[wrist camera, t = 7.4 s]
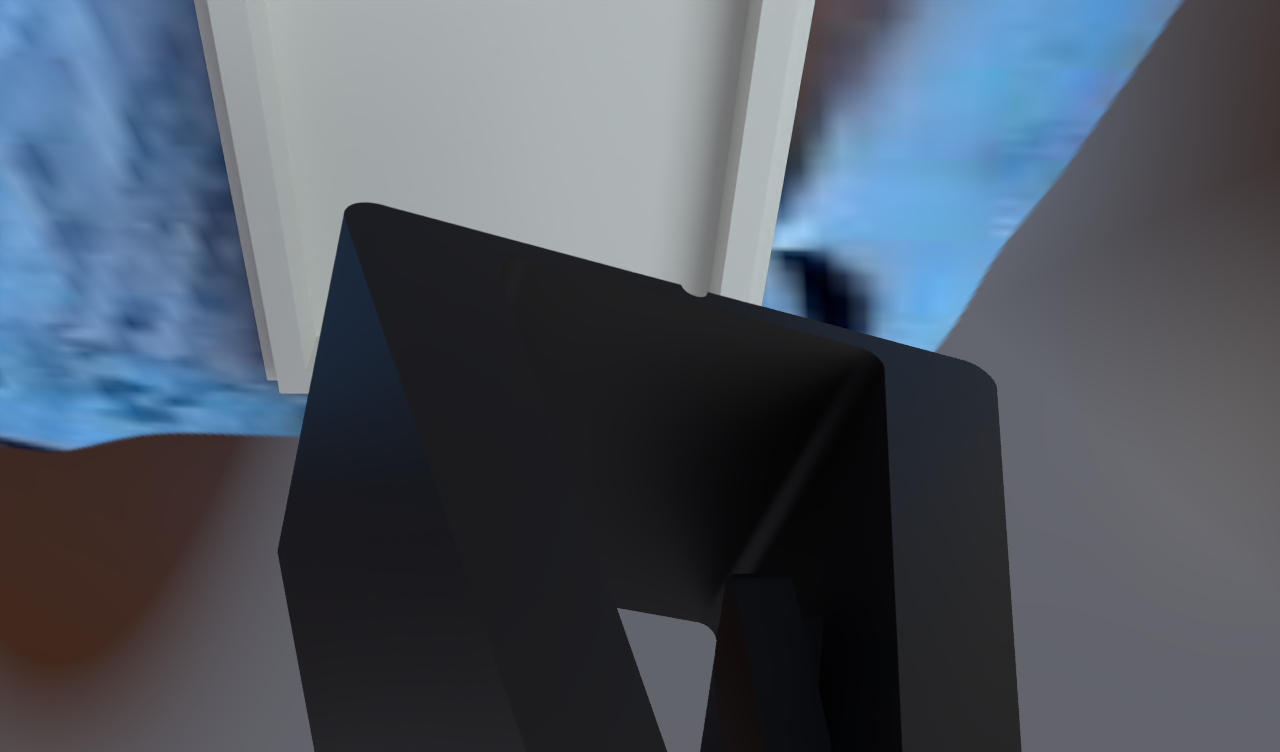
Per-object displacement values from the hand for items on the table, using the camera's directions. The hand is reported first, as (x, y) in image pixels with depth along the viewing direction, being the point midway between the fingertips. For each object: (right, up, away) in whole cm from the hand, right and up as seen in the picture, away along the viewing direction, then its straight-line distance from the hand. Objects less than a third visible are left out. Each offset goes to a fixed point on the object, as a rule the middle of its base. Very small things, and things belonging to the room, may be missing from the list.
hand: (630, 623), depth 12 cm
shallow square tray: (-4, +11, +21) cm, 24 cm away
